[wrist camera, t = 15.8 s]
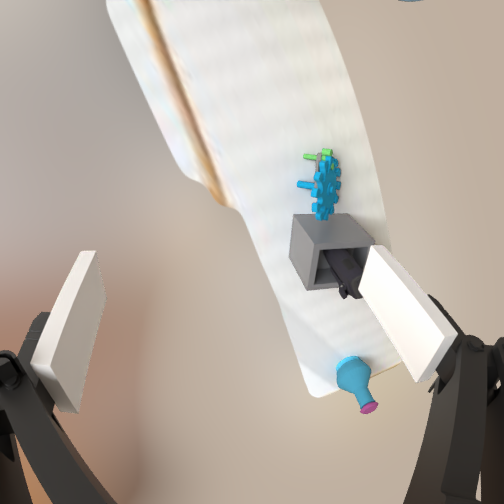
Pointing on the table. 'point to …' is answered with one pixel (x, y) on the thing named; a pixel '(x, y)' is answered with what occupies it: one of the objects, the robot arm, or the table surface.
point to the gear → (323, 184)
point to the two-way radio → (345, 271)
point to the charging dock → (325, 246)
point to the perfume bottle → (356, 382)
